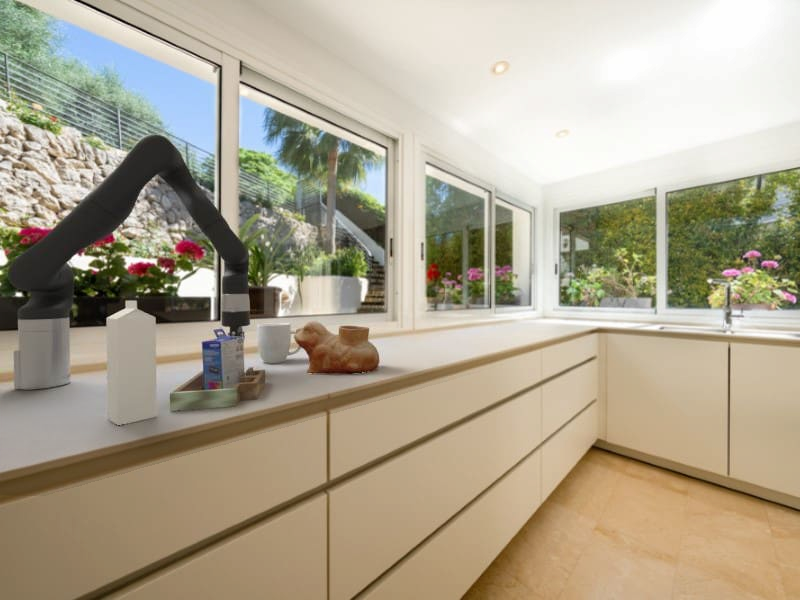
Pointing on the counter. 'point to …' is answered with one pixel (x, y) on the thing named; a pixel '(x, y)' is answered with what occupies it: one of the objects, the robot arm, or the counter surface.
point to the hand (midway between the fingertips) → (236, 368)
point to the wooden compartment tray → (216, 392)
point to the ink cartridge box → (222, 361)
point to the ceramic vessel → (337, 349)
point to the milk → (131, 365)
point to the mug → (274, 342)
